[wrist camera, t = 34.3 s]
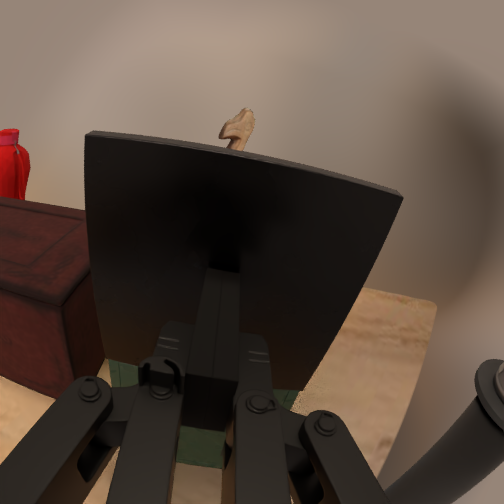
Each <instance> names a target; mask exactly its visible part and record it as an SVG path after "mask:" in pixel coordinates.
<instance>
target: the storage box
mask: <svg viewBox="0 0 504 504" xmlns="http://www.w3.org/2000/svg"><path fill="white" fill-rule="evenodd" d="M104 358H105V352H104V347H103V342H102V337H101V332H100V327H99V322H98V316H97V311H96V305H95V298H94V292H93V285H92V278H91V270H90V261H89V252H88V241H87V229H86V213H85V210H79V209H74V208H68V207H62V206H56V205H50V204H44V203H38V202H31V201H26V200H20V199H14V198H8V197H1V196H0V375H1V376H3V377H5V378H7V379H9V380H12V381H14V382H16V383H18V384H20V385H23V386H25V387H27V388H30V389H32V390H34V391H37V392H39V393H42V394H44V395H47V396H49V397H52V398H55V399H57V398H58V397H59V396H60V395H61V394H62V393H63V392H64V391H65V390H66V388H67V387H68V386H69V385H70V384H71V383H72V382H73V381H75V380H76V379H77V378H80V377H83V376H96V375H97V373H98V371H99V369H100V367H101V365H102V363H103V360H104Z"/></svg>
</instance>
